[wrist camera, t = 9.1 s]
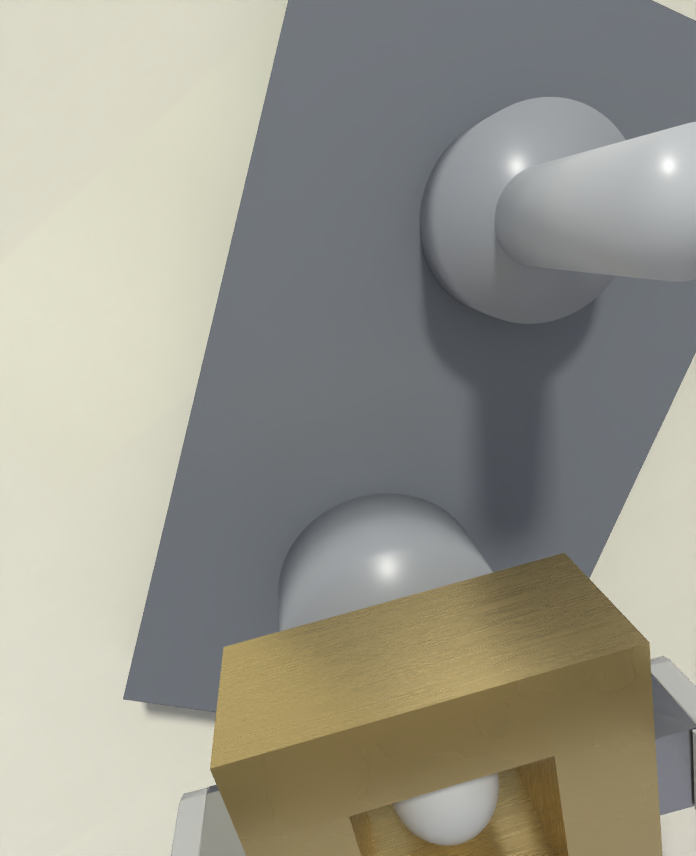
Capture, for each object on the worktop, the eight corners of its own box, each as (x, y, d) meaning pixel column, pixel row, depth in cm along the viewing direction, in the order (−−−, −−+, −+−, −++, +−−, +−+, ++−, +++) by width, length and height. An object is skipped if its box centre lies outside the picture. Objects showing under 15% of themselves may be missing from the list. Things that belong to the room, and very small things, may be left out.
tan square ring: (564, 552, 11) (649, 642, 8) (592, 798, 13) (666, 926, 10) (223, 647, 10) (209, 769, 8) (310, 882, 12) (320, 1034, 10)
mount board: (769, 96, 15) (1370, -75, 7) (490, 715, 20) (640, 1036, 12) (318, -109, 12) (414, -776, 4) (134, 661, 17) (20, 1022, 9)
